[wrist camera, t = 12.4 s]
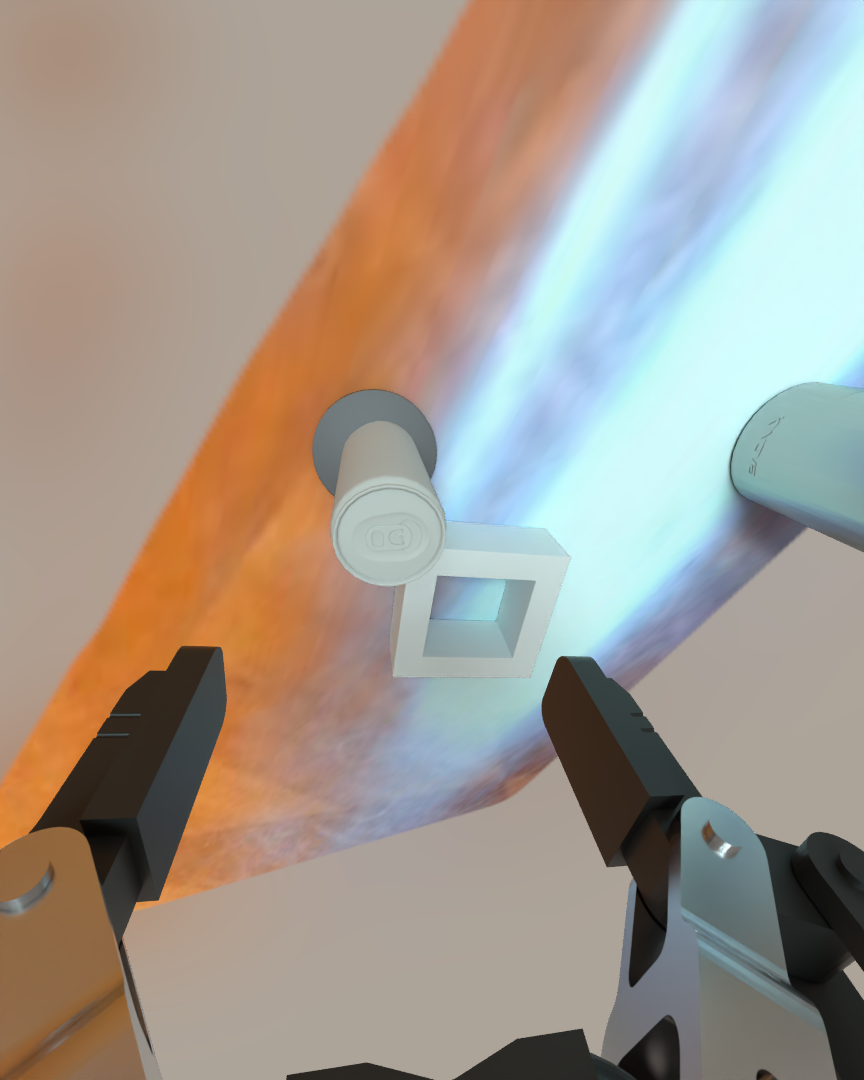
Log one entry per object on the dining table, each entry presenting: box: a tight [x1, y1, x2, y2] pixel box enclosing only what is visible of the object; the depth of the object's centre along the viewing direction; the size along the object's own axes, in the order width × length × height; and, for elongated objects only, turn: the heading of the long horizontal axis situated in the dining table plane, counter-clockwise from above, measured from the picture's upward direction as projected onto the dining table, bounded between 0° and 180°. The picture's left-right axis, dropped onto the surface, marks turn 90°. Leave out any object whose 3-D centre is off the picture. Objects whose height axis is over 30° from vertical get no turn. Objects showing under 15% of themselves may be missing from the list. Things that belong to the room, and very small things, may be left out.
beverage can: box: [331, 421, 447, 586], centre depth 22 cm, size 5×5×12 cm
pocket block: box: [389, 521, 571, 678], centre depth 32 cm, size 11×11×4 cm
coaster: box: [312, 389, 437, 497], centre depth 27 cm, size 8×8×1 cm
